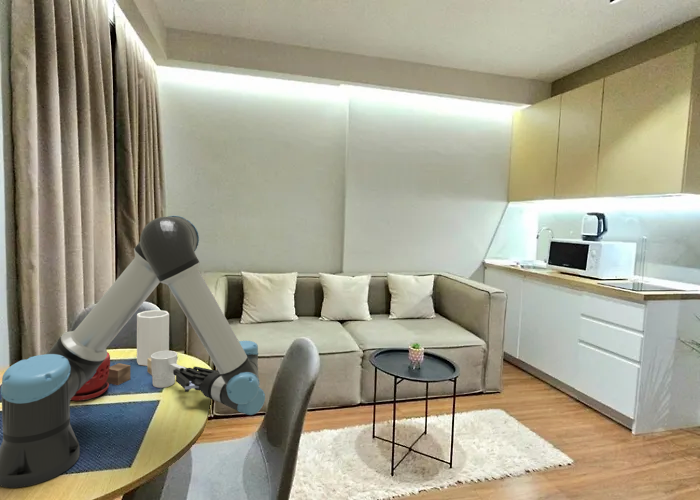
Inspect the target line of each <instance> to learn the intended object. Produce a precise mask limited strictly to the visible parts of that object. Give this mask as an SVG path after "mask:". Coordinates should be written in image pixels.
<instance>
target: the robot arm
mask: <svg viewBox="0 0 700 500" xmlns="http://www.w3.org/2000/svg"><path fill="white" fill-rule="evenodd" d="M199 236H200V235H199V231H198V230H197V227H196V226H195V225H194V224H193V223H192V222H191V221H190V220H188V219H186V218H185V217H182V216H180V215H168V216H159V217H156V218H155V219H152V220H151V221H149V222H148V223H147V224H146V225H145V226H144V228H143V229H142V230H141V233H140V237H139V242H138V243H137V245H136V246H135V247H134V248H133V251H134V258H133V259H132V261H131V262H130V263H129V264H128V265H127V266H126V268H125V269H124V270H123V272H121V274H120V275H119V276H118V278H116V280H115V281H114V282H113V283H112V284H111V286H110V287H109V288H108V290H106V292H105V293H104V294H103V295H102V296H101V298H100V299H99V300H98V301H97V303H96V304H95V305H94V306H93V308H92V309H91V310H89V313H87V314H86V316H85V317H84V319H83V320H82V321H81V322H80V323H79V324H78V325H77V327H76V328H75V329H74V330H69V331H66V332H64V333H62V335H61V336H60V337H59V338H58V340H57V341H55V343H54V344H53V345H52V347H51V348H50V349H49V350H48V352H46V353H45V354H38V355H34V356H33V355H32V356H30V357H28V358H26V359H21V360H18V361H17V362H15V363H13V364H12V365H11V366H9V367H8V368H6V370H5V371H4V373H3V375H2V379H1V386H0V396H1V415H2V419H1V420H2V442H1V445H0V487H2V488H11V489H13V488H22V487H24V488H25V487H28V486H29V487H30V486H33V485H39V484H40V483H44V482H46V481H50V480H51V479H54V478H56V477H58V476H60V475H61V474H64V473H65V472H66V471H68V470H70V469H71V468H72V467H73V466H74V465H75V464H76V463H77V461H78V460H79V458H80V443H79V440H78V438H77V437H76V435H75V432H74V430H73V427H72V425H71V400H70V399H71V398H72V397H73V396H74V395H75V394H76V392H77V391H78V390H79V389H80V388H81V387H82V386H83V385H84V384H85V383H86V382H87V381H89V380H90V379H91V378H92V377H93V375H94V374H95V373H96V370H97V369H98V367H99V366H100V365H101V363H102V362H103V361H104V360H105V358H106V357H107V352H108V350H107V347H109V345H110V344H111V343H112V342H113V340H114V339H115V338H116V337H117V335H118V334H119V333H120V332H121V331H122V329H123V328H124V326H126V324H127V323H128V322H129V321H130V320H131V319H132V317H133V316H134V315H135V314H136V313H137V311H138V310H139V309H140V307H141V306H142V305H143V303H144V302H145V301H146V300H147V299H148V298H149V297H150V296H151V294H152V292H154V290H155V289H156V288H157V287H158V285H159V284H160V283H161V284H164V285H167V286H168V288H169V290H170V291H171V294H172V295H173V296H174V298H175V300H176V302H177V303H178V305H179V307H180V308H181V310H182V311H183V313H184V315H185V317H186V318H187V321H188V322H189V323H190V325H191V328H192V329H193V330H194V333H195V334H196V335H197V338H198V339H199V341H200V343H201V344H202V346H203V348H204V349H205V351H206V353H207V355H208V356H209V358H210V359H211V362H212V363H213V365H214V366H215V368H216V369H217V370H216V369H215V370H214V369H210V368H204V367H200V366H193V368H192V367H185V366H183V365H180V364H178V363H177V364H175V363H173V364H170V373H172V374H174V375H175V383H178V384H179V385H180V387H182V388H183V389H184V392H185V393H189V392H190V390H192V389H194V390H195V391H200V392H201V393H202V394H203V396H205V398H209V399H210V400H212V401H215V402H217V403H220V404H222V405H224V406H227V407H228V408H231V409H233V410H235V411H237V412H238V413H242V414H244V415H248V416H254V415H256V414H257V413H259V411H261V409H263V408H262V407H263V406H264V404H265V400H266V394H265V391H264V390H263V389H262V388H261V387H260V385H261V383H260V379H259V378H260V377H259V364H258V360H259V346H258V344H257V342H255V341H253V340H252V341H251V340H240V341H239V339H238V337H237V335H236V333H235V331H234V330H233V328H232V326H231V324H230V323H229V321H228V319H227V318H226V316H225V314H224V312H223V310H222V309H221V307H220V305H219V304H218V302H217V300H216V298H215V297H214V294H213V292H212V291H211V289H210V287H209V286H208V284H207V282H206V280H205V278H204V277H203V274H202V273H201V272H200V270H199V267H200V260H199V259H198V257H197V255H196V250H197V249H198V246H199V243H200V242H199V241H200V237H199Z"/></svg>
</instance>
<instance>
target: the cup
mask: <svg viewBox="0 0 700 500" xmlns="http://www.w3.org/2000/svg"><path fill="white" fill-rule="evenodd" d="M160 351H170V313H169V312H168V311H167V310H162V309H161V310H159V309H154V310H153V309H152V310H143V311H141V312H138V313H137V314H136V362H137V364H138V365H139V366H146V367H147V359H148V358H151V355H152V354H154V353H156V352H160Z"/></svg>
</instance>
